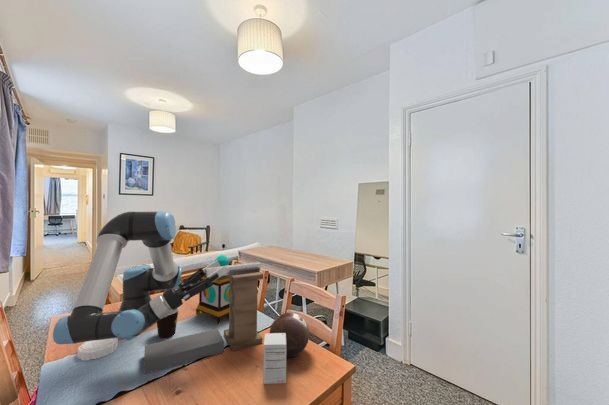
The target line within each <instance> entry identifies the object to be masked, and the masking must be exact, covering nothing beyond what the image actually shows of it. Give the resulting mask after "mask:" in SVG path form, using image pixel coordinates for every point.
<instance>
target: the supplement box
mask: <svg viewBox="0 0 609 405" xmlns="http://www.w3.org/2000/svg"><path fill="white" fill-rule="evenodd" d="M262 367H263V380H262V382H263V384H264V385H271V384H272V385H273V384H286V383H287V357H286V333H270V332H269V333H264V338H263V366H262Z"/></svg>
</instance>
